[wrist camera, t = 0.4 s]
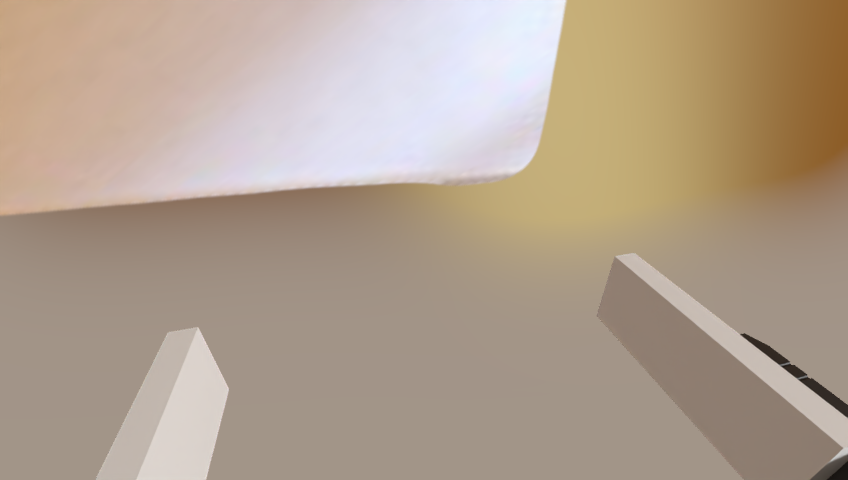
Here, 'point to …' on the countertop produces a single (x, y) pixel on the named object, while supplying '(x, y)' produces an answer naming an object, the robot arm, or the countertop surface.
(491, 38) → the countertop surface
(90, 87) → the countertop surface
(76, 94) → the countertop surface
